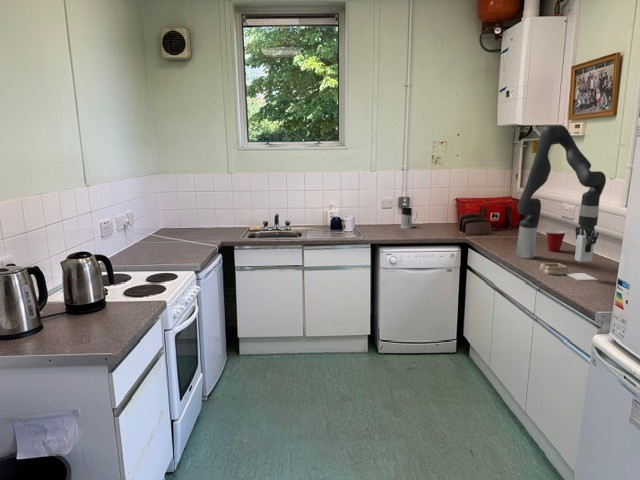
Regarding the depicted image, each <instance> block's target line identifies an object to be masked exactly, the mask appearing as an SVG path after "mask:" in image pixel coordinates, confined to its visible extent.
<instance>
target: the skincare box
mask: <svg viewBox="0 0 640 480" xmlns="http://www.w3.org/2000/svg"><path fill="white" fill-rule="evenodd" d="M585 238H586V237H585V236H583V235H577V240H576V245H575V253H574V254H575V255H574V260H575V261H576V262H581V263H583V262H592V261H593V254H594V247H595V246H594V245H595V244H592V245H591V252H585V247H586V239H585ZM588 238H590V237H588ZM589 240H590V239H589ZM593 241H594V240H593Z"/></svg>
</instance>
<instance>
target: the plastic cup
mask: <svg viewBox="0 0 640 480" xmlns="http://www.w3.org/2000/svg"><path fill="white" fill-rule="evenodd" d="M566 233H567V231H563V230H546V231H545V234H546V237H547V239H546V240H547V241H546V242H547V246H548V247H547V249H548V251H549V252H552V253H553V252H555V253H556V252H557V253H559V252H560V250H561V247H562V244H563V241H564V237H565V234H566Z"/></svg>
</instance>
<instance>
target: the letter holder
mask: <svg viewBox="0 0 640 480" xmlns="http://www.w3.org/2000/svg"><path fill="white" fill-rule="evenodd" d="M491 230H492V223H490V222H489V220H488V218H485V214H484V213H481V212H478V213H477V212H471V213H470V212H469V213H464V214H459V221H458V234H462V235H465V236H472V235H473V236H474V235H491V232H492V231H491Z"/></svg>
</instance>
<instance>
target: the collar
mask: <svg viewBox="0 0 640 480" xmlns="http://www.w3.org/2000/svg"><path fill="white" fill-rule="evenodd" d="M568 268H569V267H568V266H566V265H564V264H562V263H559V262H551V263H550V262H548V263H546V262H545V263H544V262H543V263H540V264H539V271H541V272H542V273H544V274H547V275H566V274H567V273H568Z"/></svg>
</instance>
